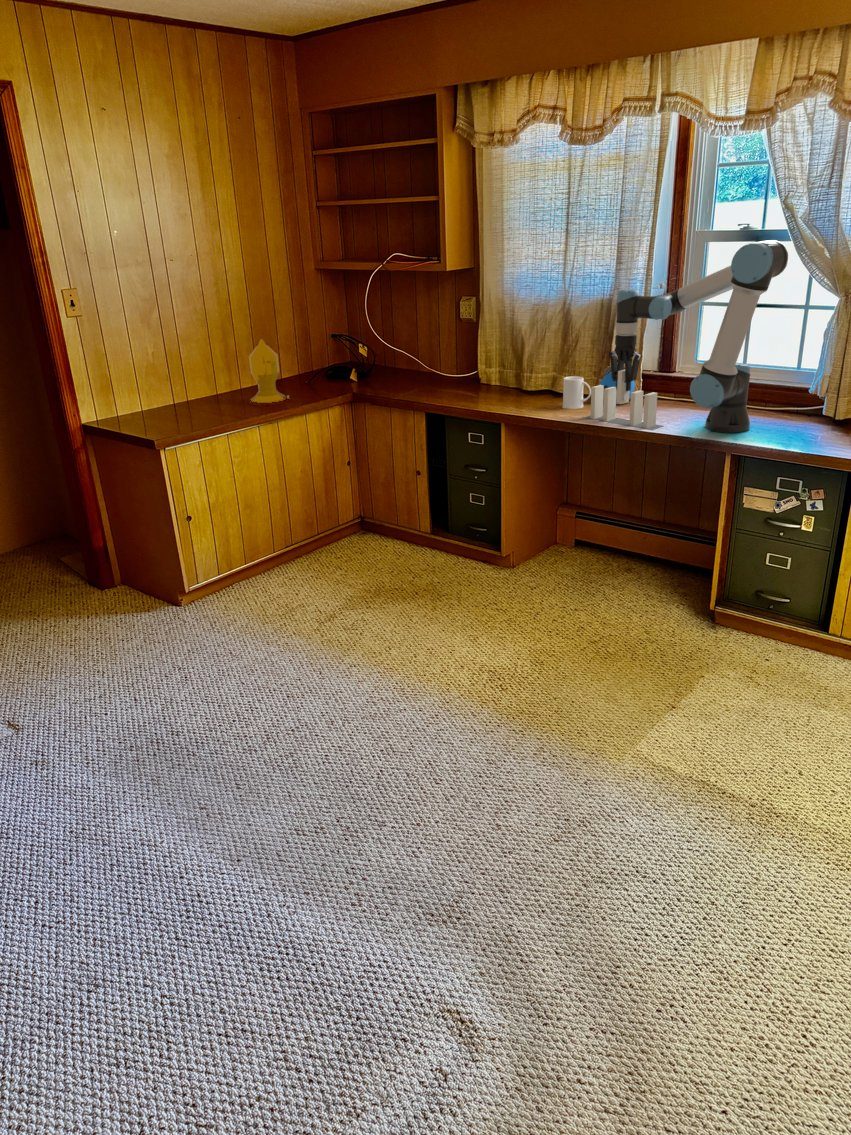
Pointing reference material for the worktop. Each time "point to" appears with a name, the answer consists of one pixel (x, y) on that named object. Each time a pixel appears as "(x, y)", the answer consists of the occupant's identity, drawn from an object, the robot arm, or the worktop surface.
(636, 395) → the domino
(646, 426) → the domino
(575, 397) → the mug
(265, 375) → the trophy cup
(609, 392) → the domino
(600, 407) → the domino
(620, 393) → the domino
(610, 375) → the alarm clock
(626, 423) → the mat
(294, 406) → the worktop surface
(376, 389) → the worktop surface
